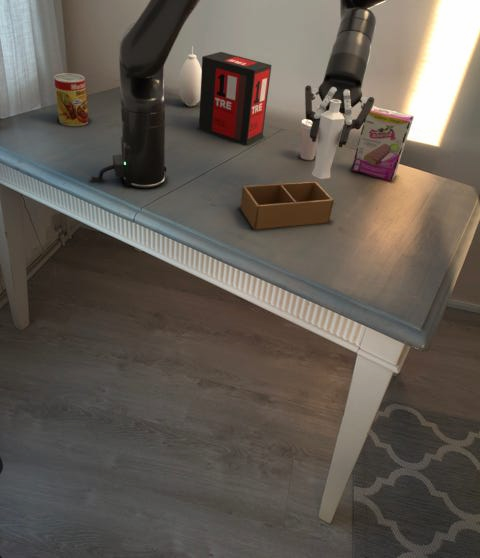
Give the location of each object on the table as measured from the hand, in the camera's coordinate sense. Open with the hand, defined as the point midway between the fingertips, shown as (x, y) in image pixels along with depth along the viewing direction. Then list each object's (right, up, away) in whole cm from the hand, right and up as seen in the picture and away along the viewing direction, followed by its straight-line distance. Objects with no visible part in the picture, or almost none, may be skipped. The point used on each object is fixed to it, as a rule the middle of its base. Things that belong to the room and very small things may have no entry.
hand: (327, 142), depth 96 cm
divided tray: (-7, -12, +14) cm, 20 cm away
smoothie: (+2, +7, +42) cm, 42 cm away
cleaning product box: (-19, +16, +51) cm, 57 cm away
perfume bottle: (0, -5, +6) cm, 8 cm away
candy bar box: (+19, +2, +37) cm, 42 cm away
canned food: (-64, +18, +46) cm, 81 cm away
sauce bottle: (-33, +30, +67) cm, 80 cm away
